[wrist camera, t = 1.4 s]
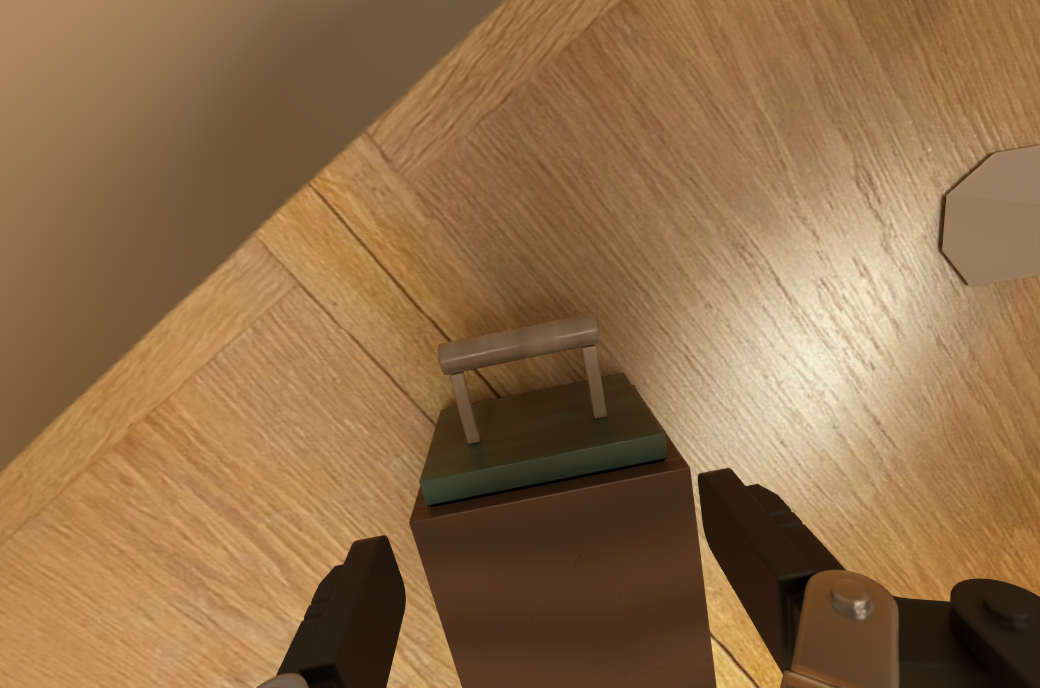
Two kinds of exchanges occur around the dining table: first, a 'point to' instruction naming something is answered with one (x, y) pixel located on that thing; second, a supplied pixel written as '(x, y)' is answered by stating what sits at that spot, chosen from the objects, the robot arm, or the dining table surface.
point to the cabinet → (573, 581)
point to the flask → (996, 219)
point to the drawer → (535, 419)
